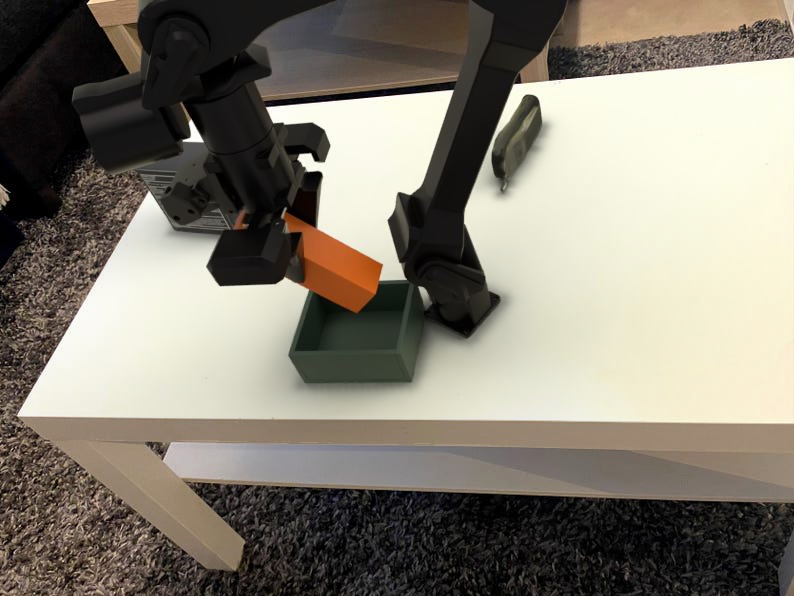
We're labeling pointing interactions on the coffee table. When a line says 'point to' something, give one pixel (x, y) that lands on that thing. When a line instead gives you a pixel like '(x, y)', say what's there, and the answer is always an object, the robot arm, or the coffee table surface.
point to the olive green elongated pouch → (516, 139)
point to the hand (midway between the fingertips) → (305, 265)
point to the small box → (162, 176)
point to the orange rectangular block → (333, 266)
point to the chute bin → (360, 337)
